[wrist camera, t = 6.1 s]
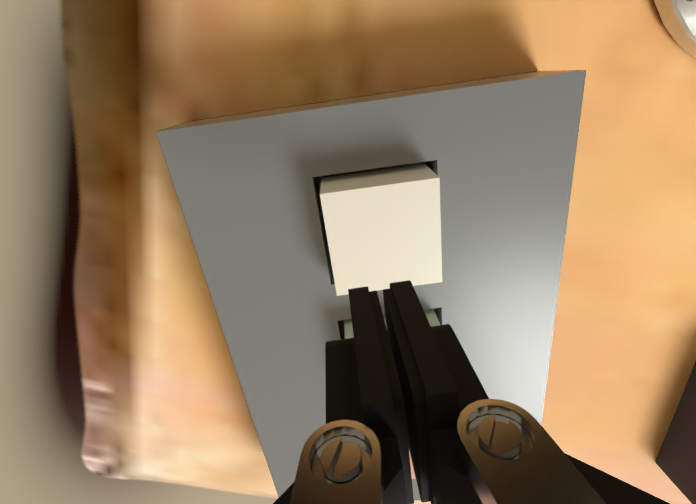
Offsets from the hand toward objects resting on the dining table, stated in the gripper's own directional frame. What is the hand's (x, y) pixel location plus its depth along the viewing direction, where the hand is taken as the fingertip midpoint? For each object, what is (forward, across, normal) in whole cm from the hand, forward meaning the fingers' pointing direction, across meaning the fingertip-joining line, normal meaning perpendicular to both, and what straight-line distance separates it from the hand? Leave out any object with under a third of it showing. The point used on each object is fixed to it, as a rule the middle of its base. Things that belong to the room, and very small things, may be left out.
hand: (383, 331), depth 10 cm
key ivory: (+8, -1, 0) cm, 8 cm away
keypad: (+10, -1, +6) cm, 12 cm away
